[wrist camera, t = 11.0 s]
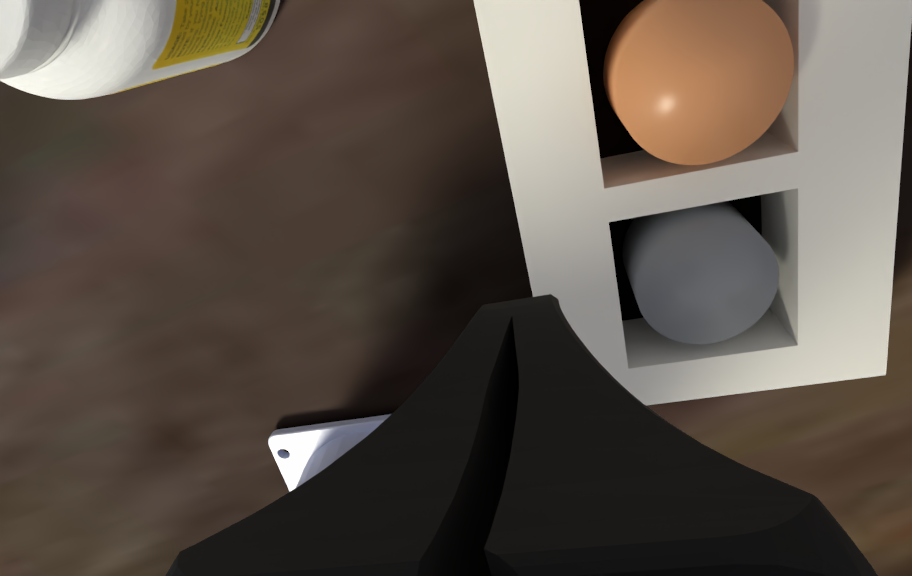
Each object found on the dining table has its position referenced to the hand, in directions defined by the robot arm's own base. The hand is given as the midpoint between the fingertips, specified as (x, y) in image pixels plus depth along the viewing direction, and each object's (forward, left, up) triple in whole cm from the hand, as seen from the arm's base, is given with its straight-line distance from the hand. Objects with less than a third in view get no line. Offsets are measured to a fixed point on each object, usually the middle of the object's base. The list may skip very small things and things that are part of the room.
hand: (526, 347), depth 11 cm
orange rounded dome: (+3, -5, -9) cm, 11 cm away
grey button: (-3, -5, -10) cm, 12 cm away
